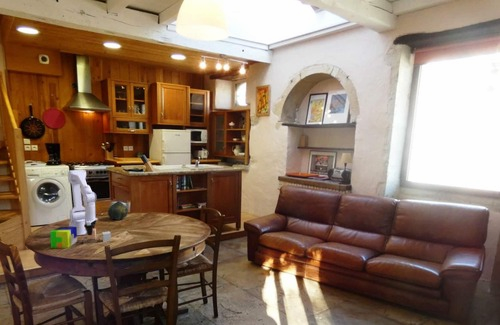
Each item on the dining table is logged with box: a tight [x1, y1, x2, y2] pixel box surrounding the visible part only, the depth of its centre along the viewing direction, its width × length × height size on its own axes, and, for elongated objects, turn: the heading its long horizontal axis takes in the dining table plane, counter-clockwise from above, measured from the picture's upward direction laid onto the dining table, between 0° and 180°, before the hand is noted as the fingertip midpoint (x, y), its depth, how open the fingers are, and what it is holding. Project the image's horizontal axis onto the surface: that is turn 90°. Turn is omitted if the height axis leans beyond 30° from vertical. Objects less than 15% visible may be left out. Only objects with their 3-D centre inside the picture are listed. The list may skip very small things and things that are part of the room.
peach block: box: [86, 227, 97, 239], centre depth 190 cm, size 4×4×5 cm
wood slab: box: [82, 234, 99, 244], centre depth 190 cm, size 7×7×3 cm
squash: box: [107, 200, 129, 221], centre depth 242 cm, size 14×15×15 cm
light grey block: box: [101, 230, 112, 243], centre depth 192 cm, size 4×4×5 cm
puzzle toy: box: [50, 226, 78, 249], centre depth 183 cm, size 10×10×10 cm
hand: (90, 233), depth 190 cm, fingers open, 7 cm apart
